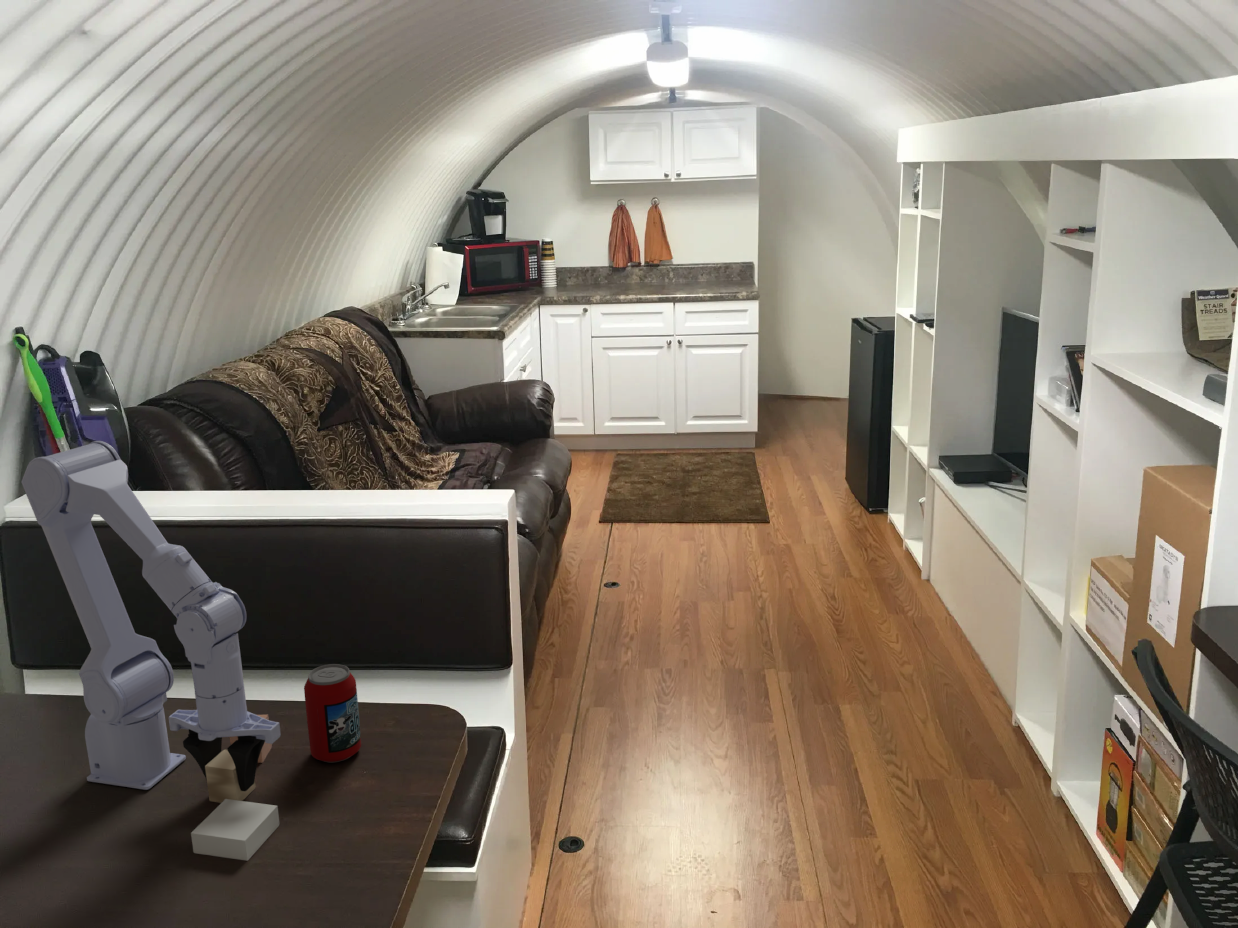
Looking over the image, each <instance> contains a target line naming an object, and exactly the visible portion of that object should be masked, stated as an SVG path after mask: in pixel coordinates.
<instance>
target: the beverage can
mask: <svg viewBox="0 0 1238 928" xmlns="http://www.w3.org/2000/svg"><path fill="white" fill-rule="evenodd" d="M307 676H308V677H307V679H306V682H305V683H304V687H303V692H304V702H305V711H306V712H305V713H306V723H307V732H308V740H309V749H310V754H311V756H312V757H313V759H316V760H319V761H321V762H325V763H331V764H332V763H339V762H342V761H346V760H348V759H349V758H351V757H352V756H354V755H355V754H357V753H358V752H359V751H360V749H361V747H362V737H361V724H360V713H359V701H358V690H357V680H356V678H355V676H354V675H353V674H352V673H351V672H350V668H349V667H348V666H347V665H343V664H338V663H331V664H324V665H320V666H318V667H315V668H314V669H312V670H311V671H310V672H309V673H308V675H307Z"/></svg>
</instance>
